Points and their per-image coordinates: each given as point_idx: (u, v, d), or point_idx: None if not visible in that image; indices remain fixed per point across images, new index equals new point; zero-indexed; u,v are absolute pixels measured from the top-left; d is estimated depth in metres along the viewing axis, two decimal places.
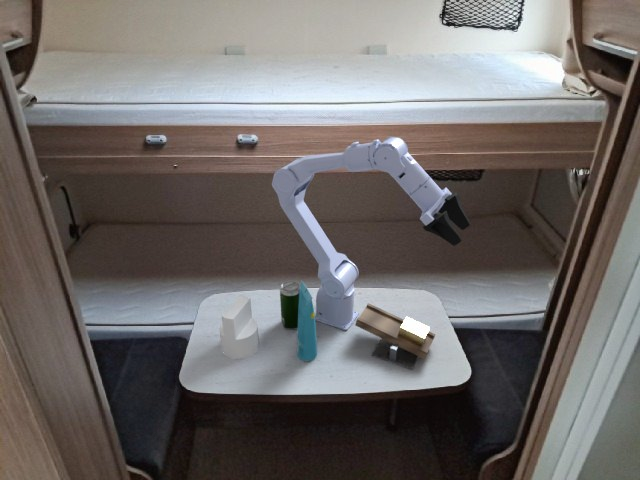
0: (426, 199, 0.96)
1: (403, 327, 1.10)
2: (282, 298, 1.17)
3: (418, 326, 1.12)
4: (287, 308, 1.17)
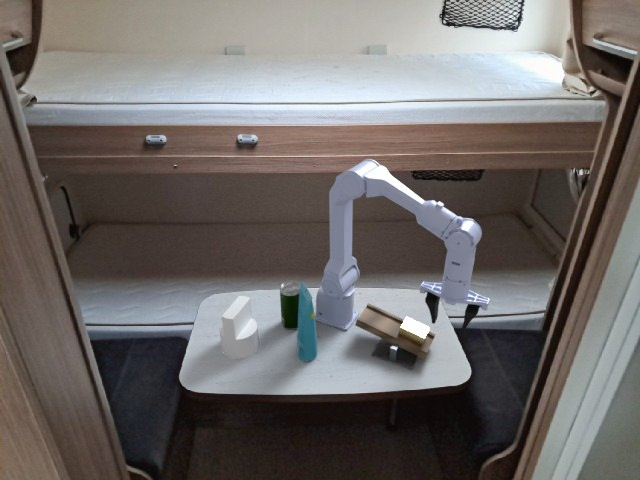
0: (442, 283, 1.02)
1: (403, 327, 1.10)
2: (282, 298, 1.17)
3: (418, 326, 1.12)
4: (287, 308, 1.17)
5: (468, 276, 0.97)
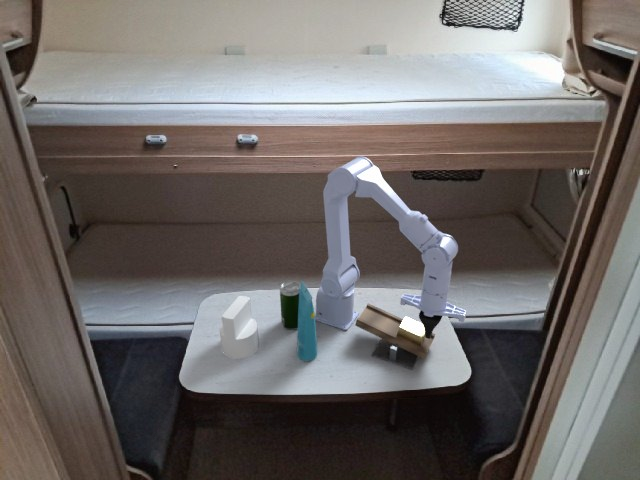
0: None
1: (402, 327, 1.10)
2: (282, 298, 1.17)
3: (417, 325, 1.12)
4: (287, 308, 1.17)
5: (445, 289, 1.01)
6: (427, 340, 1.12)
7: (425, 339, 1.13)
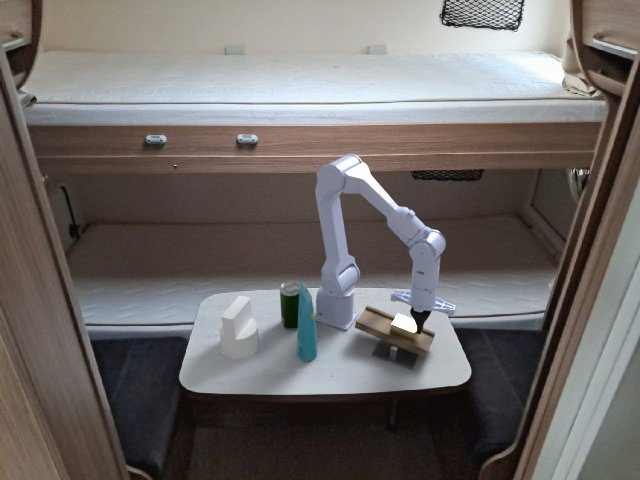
0: None
1: (394, 324, 1.11)
2: (282, 298, 1.17)
3: (409, 322, 1.12)
4: (287, 308, 1.17)
5: (433, 284, 1.02)
6: (427, 339, 1.12)
7: (425, 338, 1.12)
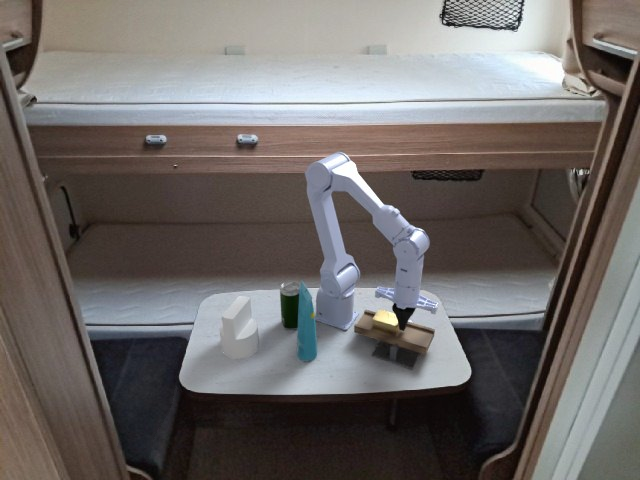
0: (394, 288, 1.08)
1: (375, 318, 1.13)
2: (282, 298, 1.17)
3: (390, 315, 1.14)
4: (287, 308, 1.17)
5: (416, 282, 1.04)
6: (427, 336, 1.12)
7: (425, 335, 1.12)
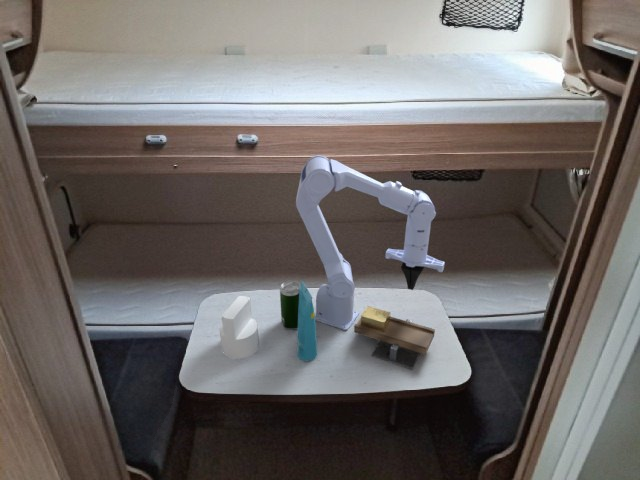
0: None
1: (363, 315, 1.14)
2: (282, 298, 1.17)
3: (379, 312, 1.15)
4: (287, 308, 1.17)
5: (428, 239, 1.13)
6: (427, 336, 1.12)
7: (425, 335, 1.12)
